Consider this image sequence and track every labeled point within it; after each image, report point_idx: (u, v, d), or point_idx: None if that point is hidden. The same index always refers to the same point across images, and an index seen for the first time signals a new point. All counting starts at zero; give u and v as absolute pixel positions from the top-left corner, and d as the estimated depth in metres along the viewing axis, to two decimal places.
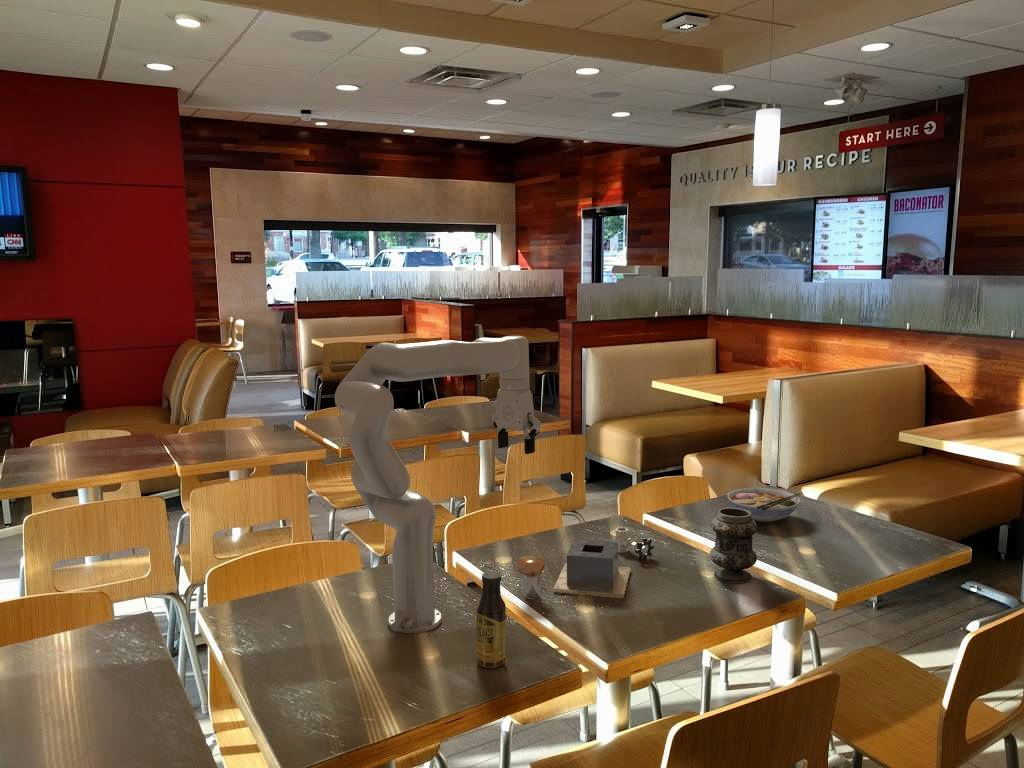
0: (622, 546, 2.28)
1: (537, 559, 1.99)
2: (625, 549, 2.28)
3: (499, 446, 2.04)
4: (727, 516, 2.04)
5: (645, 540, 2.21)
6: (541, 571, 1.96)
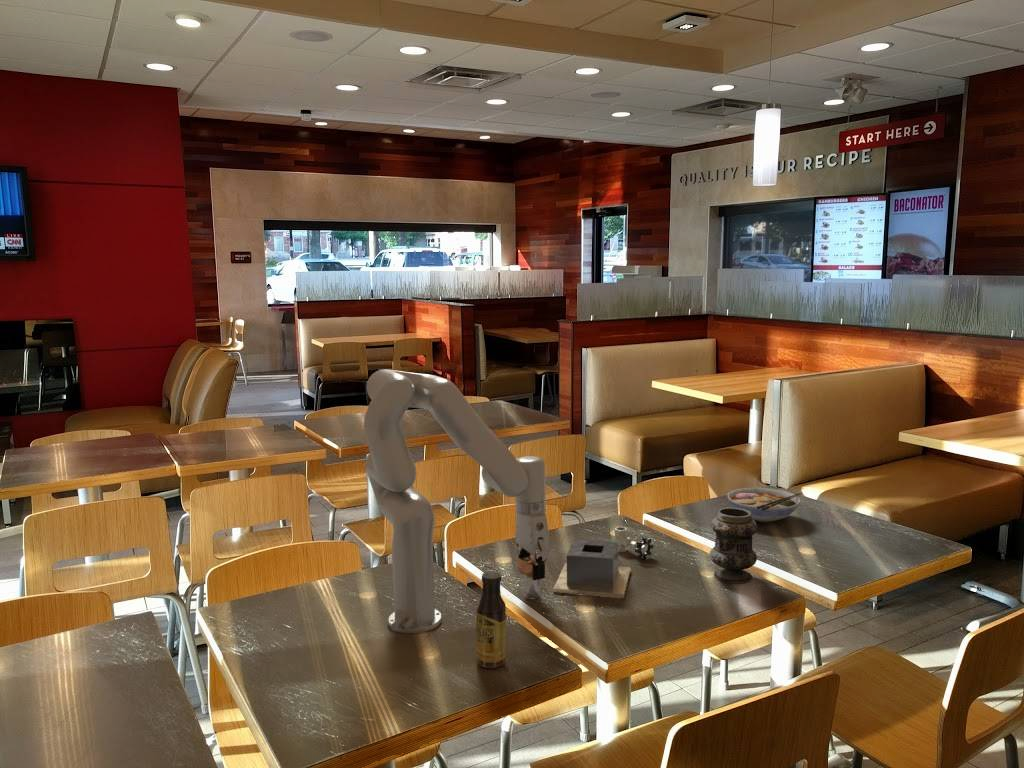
0: (621, 545, 2.28)
1: None
2: (624, 548, 2.29)
3: None
4: (727, 516, 2.04)
5: (645, 539, 2.22)
6: None
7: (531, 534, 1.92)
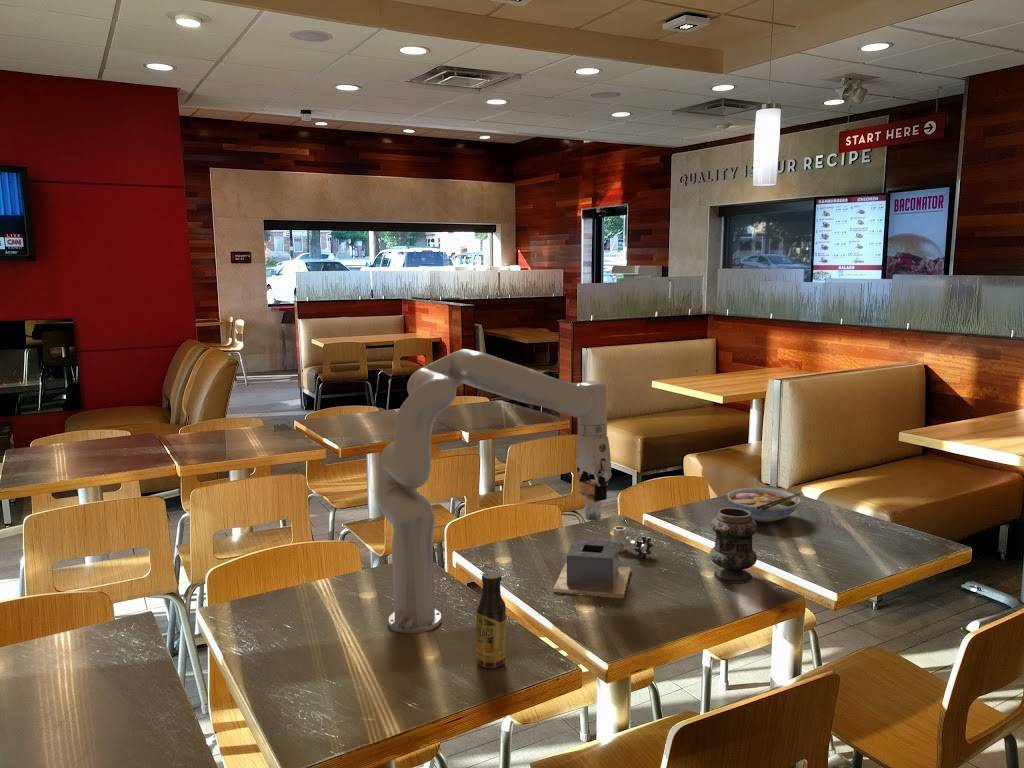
0: (620, 545, 2.29)
1: None
2: (623, 548, 2.29)
3: None
4: (727, 516, 2.04)
5: (644, 538, 2.22)
6: None
7: (594, 455, 1.97)
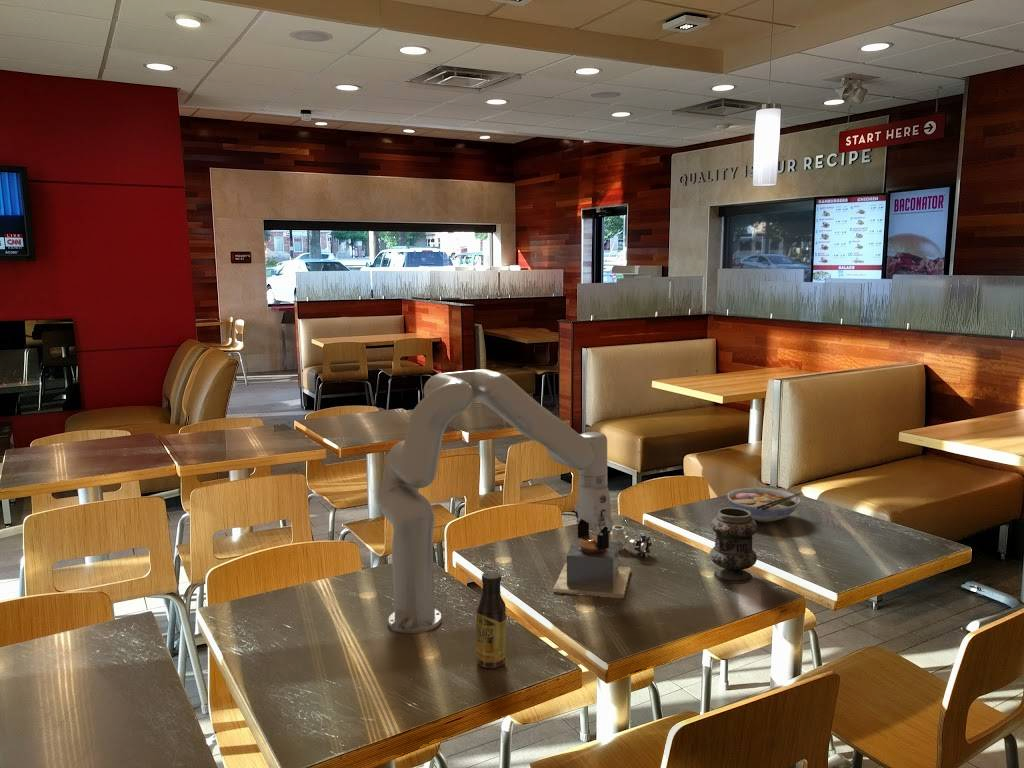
0: (619, 544, 2.30)
1: None
2: (622, 547, 2.30)
3: None
4: (727, 516, 2.04)
5: (644, 537, 2.23)
6: (603, 549, 2.04)
7: (594, 507, 1.99)
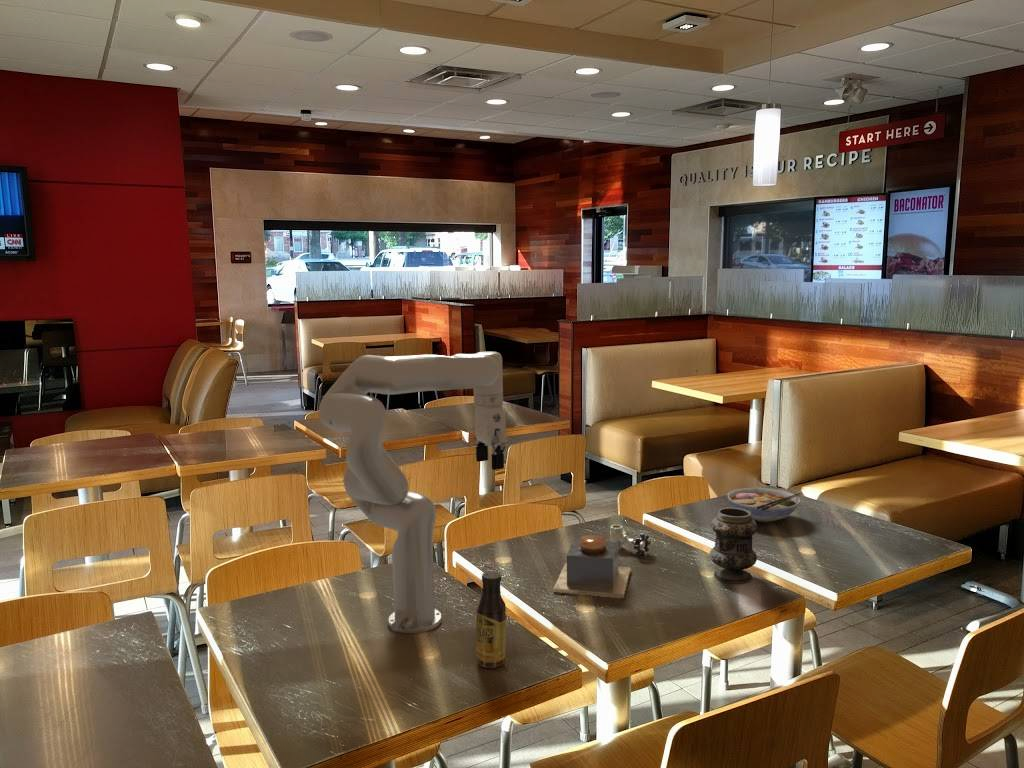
0: (618, 543, 2.30)
1: (598, 538, 2.06)
2: (620, 546, 2.31)
3: None
4: (727, 516, 2.04)
5: (643, 536, 2.24)
6: (603, 549, 2.04)
7: (488, 425, 1.97)
